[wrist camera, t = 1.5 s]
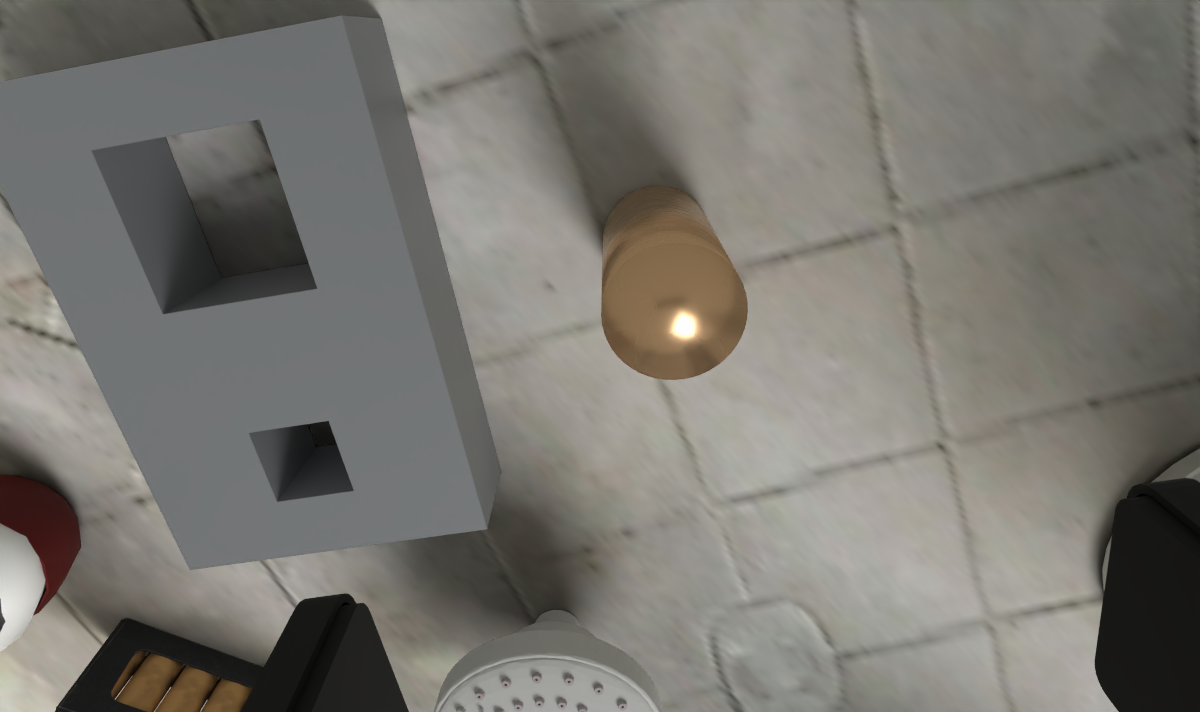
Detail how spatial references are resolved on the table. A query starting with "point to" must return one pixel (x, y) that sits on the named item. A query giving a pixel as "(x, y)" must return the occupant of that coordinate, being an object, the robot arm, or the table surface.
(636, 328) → the tan cylinder
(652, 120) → the table surface
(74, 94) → the block
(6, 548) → the cocoa
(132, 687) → the ammunition clip
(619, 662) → the showerhead
